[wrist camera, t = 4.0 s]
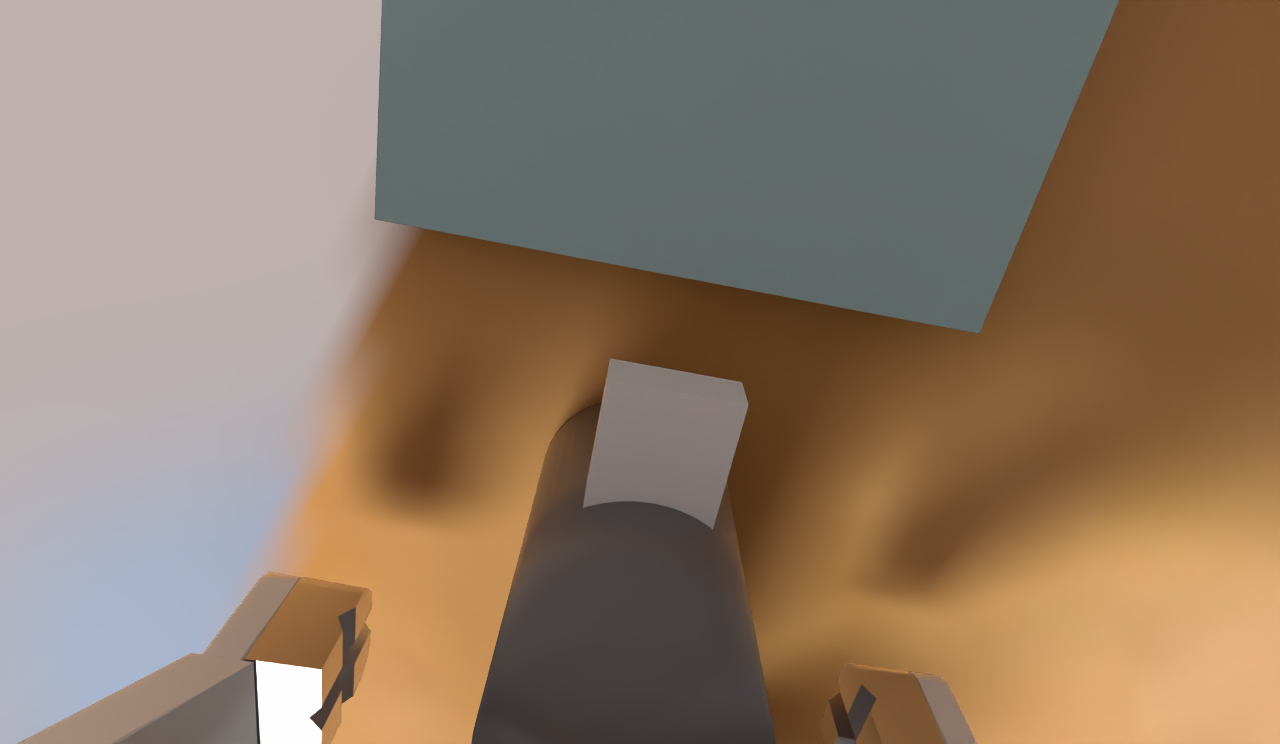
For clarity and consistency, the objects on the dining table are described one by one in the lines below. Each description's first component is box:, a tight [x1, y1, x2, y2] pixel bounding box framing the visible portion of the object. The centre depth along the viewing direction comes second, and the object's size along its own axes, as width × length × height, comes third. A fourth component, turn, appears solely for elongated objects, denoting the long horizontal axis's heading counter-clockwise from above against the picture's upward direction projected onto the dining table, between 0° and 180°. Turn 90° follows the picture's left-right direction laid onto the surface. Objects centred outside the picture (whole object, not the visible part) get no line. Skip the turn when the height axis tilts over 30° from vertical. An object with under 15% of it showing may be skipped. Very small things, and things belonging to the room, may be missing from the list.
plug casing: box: [472, 358, 775, 744], centre depth 10 cm, size 3×9×5 cm, turn 169°
